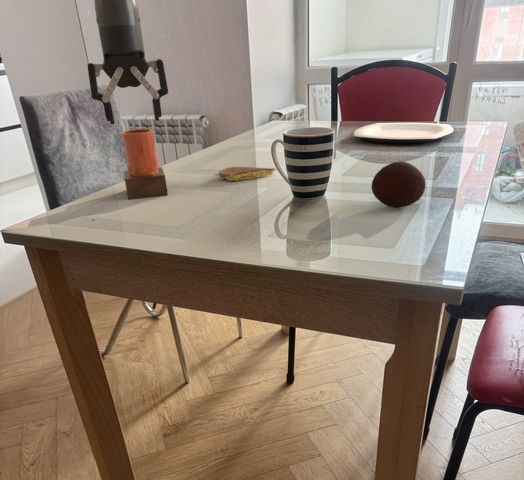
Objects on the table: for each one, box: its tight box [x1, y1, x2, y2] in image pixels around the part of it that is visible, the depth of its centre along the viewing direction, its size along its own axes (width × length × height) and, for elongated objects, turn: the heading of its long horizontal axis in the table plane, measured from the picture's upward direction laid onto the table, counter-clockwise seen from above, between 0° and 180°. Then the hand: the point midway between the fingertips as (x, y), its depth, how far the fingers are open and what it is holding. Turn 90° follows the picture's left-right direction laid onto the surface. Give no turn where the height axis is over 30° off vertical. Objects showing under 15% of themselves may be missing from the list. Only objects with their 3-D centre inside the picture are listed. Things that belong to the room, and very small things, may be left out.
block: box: [123, 166, 169, 200], centre depth 106 cm, size 8×8×4 cm
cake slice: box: [218, 166, 275, 182], centre depth 113 cm, size 11×8×2 cm
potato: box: [371, 161, 427, 209], centre depth 87 cm, size 8×9×8 cm
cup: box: [121, 128, 159, 176], centre depth 103 cm, size 6×6×8 cm
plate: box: [353, 122, 454, 144], centre depth 144 cm, size 27×27×2 cm
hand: (134, 122), depth 99 cm, fingers open, 8 cm apart
